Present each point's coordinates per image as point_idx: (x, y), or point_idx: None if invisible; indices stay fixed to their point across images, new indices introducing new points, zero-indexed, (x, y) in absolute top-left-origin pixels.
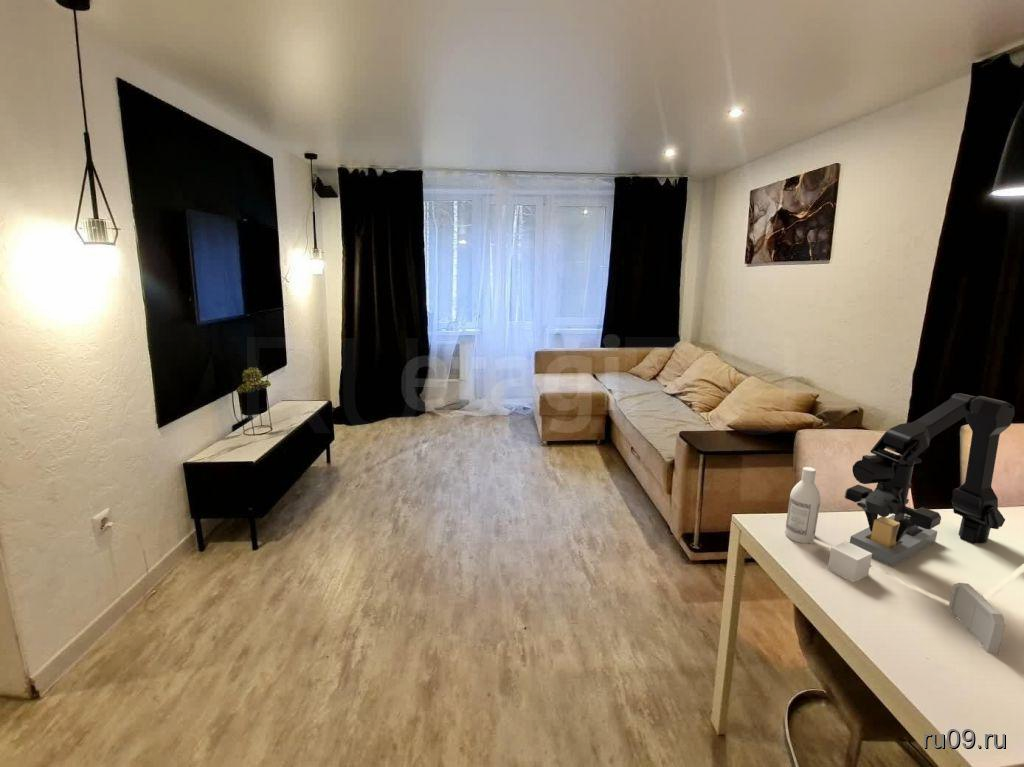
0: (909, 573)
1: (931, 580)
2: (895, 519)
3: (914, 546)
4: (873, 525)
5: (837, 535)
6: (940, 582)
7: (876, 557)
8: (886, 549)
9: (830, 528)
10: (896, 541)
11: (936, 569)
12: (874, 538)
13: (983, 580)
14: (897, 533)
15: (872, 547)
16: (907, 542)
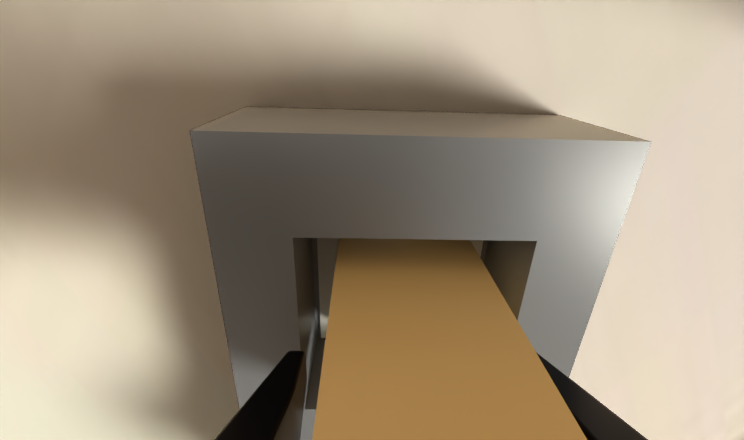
0: (174, 172)
1: (69, 206)
2: None
3: None
4: (557, 392)
5: (663, 249)
6: (38, 230)
7: (363, 116)
8: (305, 181)
9: (715, 294)
10: (296, 351)
11: (150, 342)
12: (462, 279)
13: (8, 414)
14: (267, 431)
15: (417, 130)
16: None
